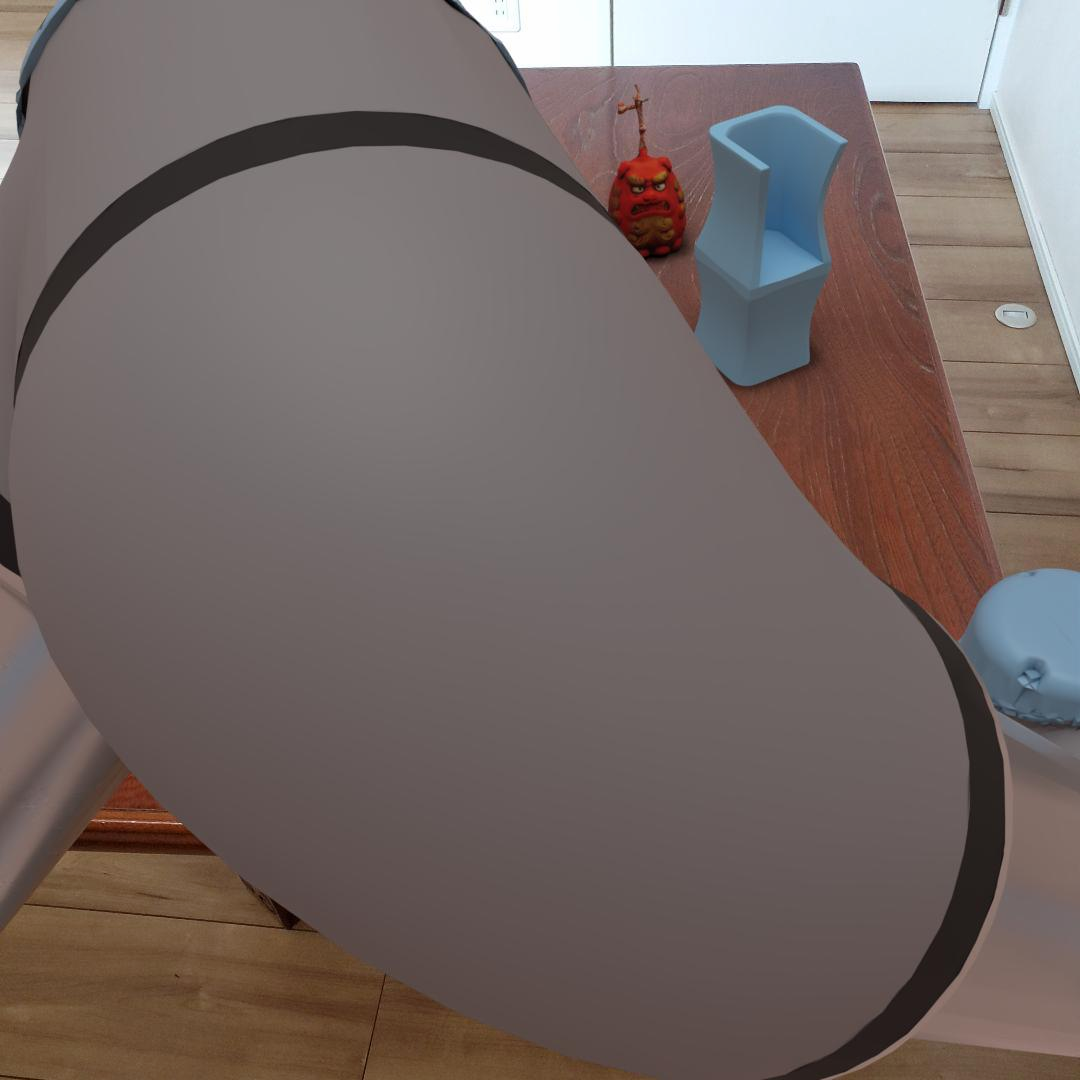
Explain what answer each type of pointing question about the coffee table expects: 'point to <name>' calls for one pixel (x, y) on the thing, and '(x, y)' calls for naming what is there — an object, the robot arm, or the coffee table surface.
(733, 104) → the coffee table surface
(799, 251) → the blue high-backed chair
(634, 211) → the red clay folk toy
